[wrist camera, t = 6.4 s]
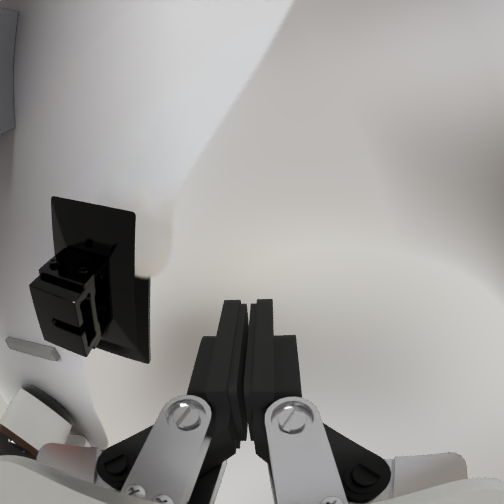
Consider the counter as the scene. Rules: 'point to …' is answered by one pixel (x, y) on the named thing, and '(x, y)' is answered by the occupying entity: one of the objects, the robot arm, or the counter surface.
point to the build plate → (93, 283)
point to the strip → (33, 349)
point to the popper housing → (7, 68)
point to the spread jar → (35, 424)
